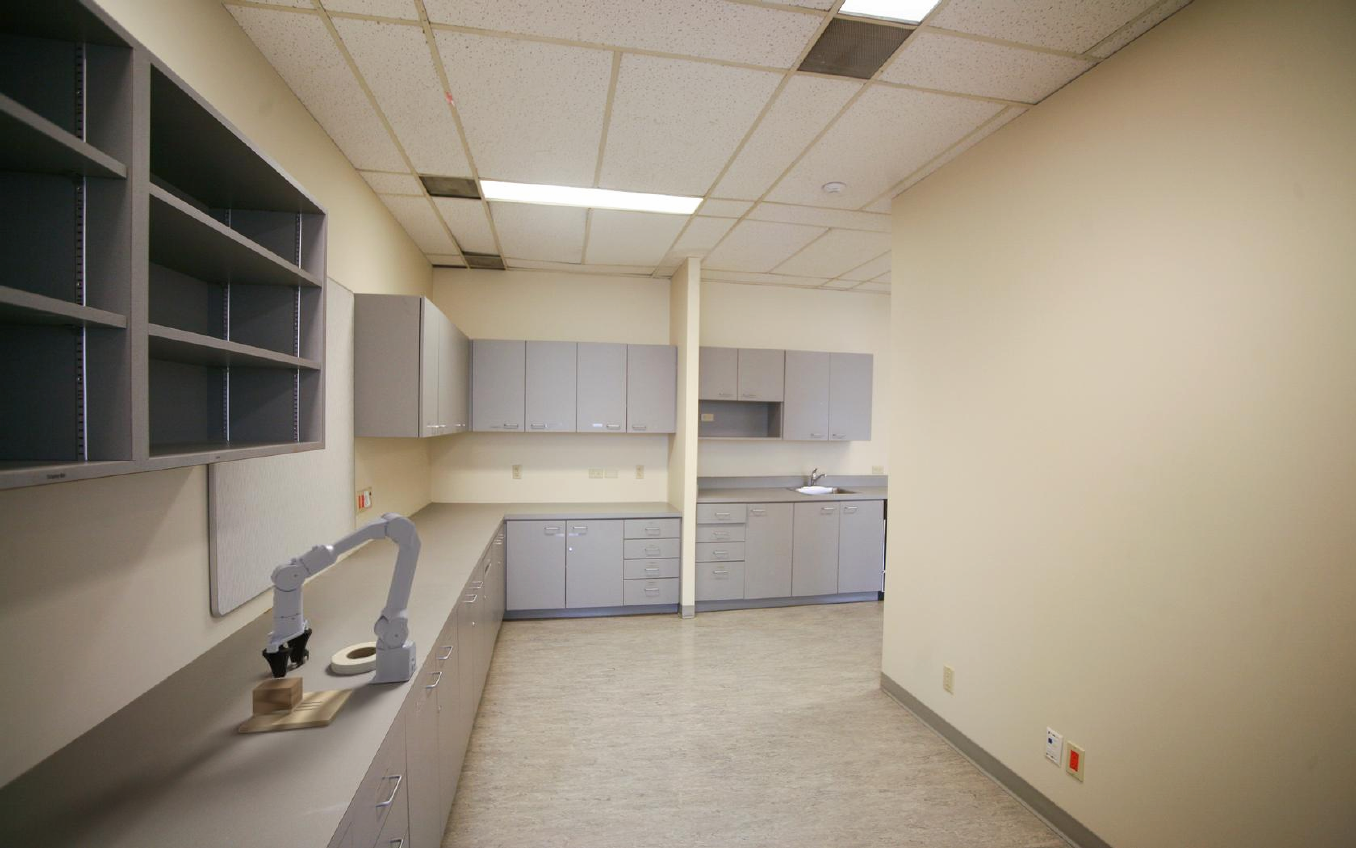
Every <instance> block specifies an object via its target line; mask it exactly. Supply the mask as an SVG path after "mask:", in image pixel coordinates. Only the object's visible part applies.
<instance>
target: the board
mask: <svg viewBox="0 0 1356 848" xmlns="http://www.w3.org/2000/svg"><path fill="white" fill-rule="evenodd" d="M354 695H355V688H346V689H335V690H332V689H331V690H322V691H321V690H319V691H309V692H303V702H302V703H301V704H300V705H299V706H298V707H297V708H296V709H295V710H294V711H293V712H292V713H286V714H275V715H264V716H254V717H253V715H252V716H251V717H250V718H248V719H247V720H246V721H245V722H244V723H243V724H242V725H241V726H240V727H239V728H238V734H246V733H258V732H269V731H280V729H281V730H288V729H289V730H292V729H300V728H310V727H321V726H329V725H331V723H332V722H333V720H334V719H335V718H336V717H337V716H338V714H339V713H340V712H341V710H343V709H344V707H345V706H346V705H347V704H348V702H349V701H350V699H352V697H353V696H354Z"/></svg>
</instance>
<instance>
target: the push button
mask: <svg viewBox="0 0 1356 848" xmlns="http://www.w3.org/2000/svg"><path fill="white" fill-rule="evenodd" d="M305 630H312V628H310V627H309V626H308V627H307V628H306V629H305ZM312 631H313V630H312ZM309 658H310V650H309V649H307V648H305V651H304V655H303V659H302V661H301V662H298V663H291V665H292V667H291V668H292V669H295V668H297V667H300V666H302V665H303V664H304V663H307V661H308V660H309Z"/></svg>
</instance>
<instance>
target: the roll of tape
mask: <svg viewBox="0 0 1356 848" xmlns="http://www.w3.org/2000/svg"><path fill="white" fill-rule="evenodd" d="M377 641H378V640H377ZM377 641H368V642H362V643H357V644H353V645H351V646H347V647H345V648H343V649H341V650H339V651H337V652H336V653H334V654H333V655H332V657H331V658H330V659H331V660H330V665H331V667H330V669H331V671H332V672H334V673H335V674H341V675H353V674H361V673H366V672H369V671H373V670H376V643H377ZM364 656H366V657H364ZM359 657H362V658H359Z"/></svg>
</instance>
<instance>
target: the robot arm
mask: <svg viewBox="0 0 1356 848" xmlns="http://www.w3.org/2000/svg"><path fill="white" fill-rule="evenodd" d="M386 537H388V538H389V539H391V540H392V542H393V543H394V544H395V546H397V547H398V552H397V553H398V554H397V556H396V560H395V561H396V562H395V565H394V571H393V574H392V578H391V583H390V587H389V592H388V596H387V599H386V603H385V606H384V607H383V609H382V610H381V613H380V616H379V618H378V619H377V620H376V621H375V623H374V627H373V632H374V634H375V635H376V636H377V643H376V669H375V674H374V676H373V677H372V678H371V680H370V681H369V684H370V685H372V684H375V685H376V684H384V683H386V684H387V683H395V682H396V683H397V682H407V681H409V680H410V679H411V677H412V675H413V674H414V673H415V671H416V669H417V668H418V666H417V644H416V642H415V641H408V640H407V639H408V637H409V634H410V631H409V626H408V622H409V621H408V620H409V615H408V611H407V608H408V603H409V600H410V596H411V595H410V594H411V592H412V591H411V590H412V585H413V582H414V576H415V573H416V569H417V565H418V560H419V555H420V552H421V546H422V542H421V539H420V536H419V534H418V532H417V528H416V524H415V523H414V522H413V521H412V520H410V519H409V518H408V517H406V516H402V515H401V514H398V513H397V512H395V511H389V512H385V513H383V514H382V515H381V516H377V517H375V518H373V519H372V520H370V521H368V522H367V523H365V524H364V525H362V526H360V527H358V528H357V529H355V530H354V531H352V532H350V533H349V534H347V535H345V536H343V537H342V538H339V540H337V541H335V542H333V543H332V544H327V543H322V544H320V545H318V544H315V545H312V546H311V550H308V551H307V552H305V553H304V554H303V553H302V555H299V556H298V557H295V556H294V557H292V558H290V562H283V563H281V564H279V565H277V566H276V567H275V569H274V570H273V571H272V573H271V575H270V579H271V581H272V583H274V586H273V587H274V588H273V599H272V602H273V603H272V605H273V607H272V608H273V609H272V611H273V612H272V613H273V614H272V617H273V621H272V622H273V623H272V624H273V625H272V626H273V627H272V629H273V630H272V631H270V632H269V633H268V634H267V637H268V638H270V640H269V642H268V643H267V644H266V647H265V648H264V649H263V650H262V651H261V654H262V657H263V658H265V660H266V661H267V662H268V664H269V667H270V670H271V672H272V676H273V677H274V679H284V678H285V677H286V675H287V672H288V663H289V660H290V662H291V664H293V663H298V662H301V661H302V659H303V655H304V651H305V649H306V646H307V644H308V641H309V639H310V637H311V635H312V633H313V630H305V629H306V628H307V627H308V628H309V626H308V625H309V623H308V622H309V621H308V619H305V620H304V614H303V613H304V612H303V611H304V610H303V609H304V605H303V604H304V601H303V598H304V593H303V588H302V587H303V586H302V585H304V583H305V581H306V579H309V578H311V577H313V576H315V575H317V574H318V573H320V572H322V571H323V570H326V569H328V568H329V567H330V566H333V565H334V564H335V563H337V560H338V557H339V556H340V555H342V554H345V553H347V552H348V551H350V550H352V549H354V548H356V547H358V546H360V545H362V544H364V543H365V542H367V541H369V540H386ZM285 644H287V647H286V646H284V645H285Z"/></svg>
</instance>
